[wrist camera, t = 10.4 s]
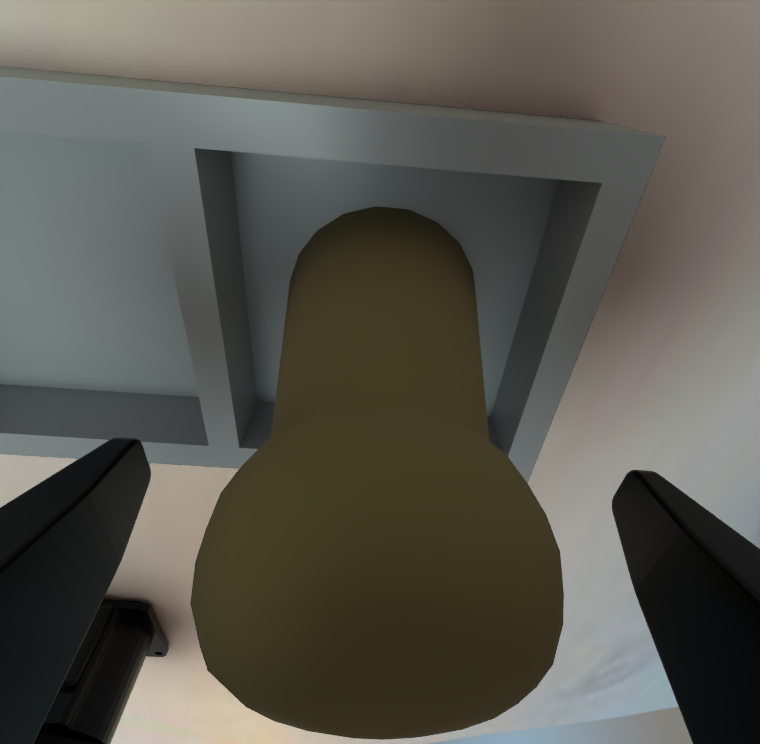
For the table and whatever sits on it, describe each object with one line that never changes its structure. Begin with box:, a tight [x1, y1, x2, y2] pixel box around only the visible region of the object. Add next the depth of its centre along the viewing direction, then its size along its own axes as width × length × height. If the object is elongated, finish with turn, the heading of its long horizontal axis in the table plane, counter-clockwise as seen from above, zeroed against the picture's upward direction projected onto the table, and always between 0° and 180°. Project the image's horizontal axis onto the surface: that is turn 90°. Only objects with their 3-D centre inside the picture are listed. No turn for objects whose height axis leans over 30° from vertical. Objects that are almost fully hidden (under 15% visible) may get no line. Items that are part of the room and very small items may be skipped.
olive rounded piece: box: [191, 206, 564, 739], centre depth 10 cm, size 6×6×11 cm
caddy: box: [0, 66, 666, 483], centre depth 13 cm, size 11×21×4 cm, turn 86°
